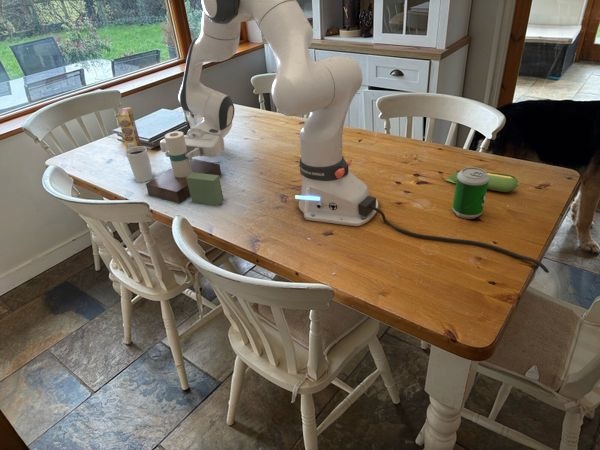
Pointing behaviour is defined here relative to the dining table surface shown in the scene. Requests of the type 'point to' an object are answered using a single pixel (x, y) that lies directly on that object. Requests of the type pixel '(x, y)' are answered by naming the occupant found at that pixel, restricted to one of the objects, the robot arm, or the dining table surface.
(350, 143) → the dining table surface
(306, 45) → the robot arm
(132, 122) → the candy box
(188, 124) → the beer glass
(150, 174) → the white cup
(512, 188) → the edible corn
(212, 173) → the chopping block
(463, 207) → the soda can
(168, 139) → the paper roll
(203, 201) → the green block
